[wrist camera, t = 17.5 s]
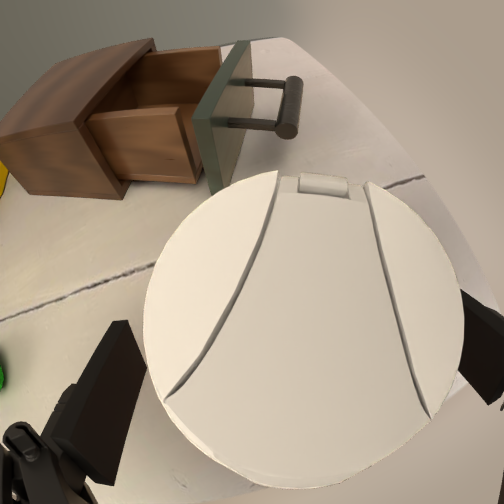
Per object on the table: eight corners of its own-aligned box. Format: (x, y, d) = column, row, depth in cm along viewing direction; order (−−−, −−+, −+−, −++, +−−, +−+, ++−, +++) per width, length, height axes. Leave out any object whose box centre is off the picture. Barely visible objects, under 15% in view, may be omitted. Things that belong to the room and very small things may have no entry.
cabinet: (173, 107, 30) (153, 37, 21) (122, 200, 24) (73, 121, 15) (82, 116, 32) (55, 63, 23) (29, 194, 26) (-16, 141, 17)
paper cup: (232, 299, 20) (176, 144, 7) (344, 311, 19) (453, 178, 6) (213, 411, 16) (92, 460, 4) (332, 425, 16) (463, 488, 3)
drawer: (302, 109, 27) (306, 43, 20) (290, 205, 22) (297, 124, 15) (141, 106, 29) (122, 52, 22) (90, 187, 24) (51, 129, 17)
